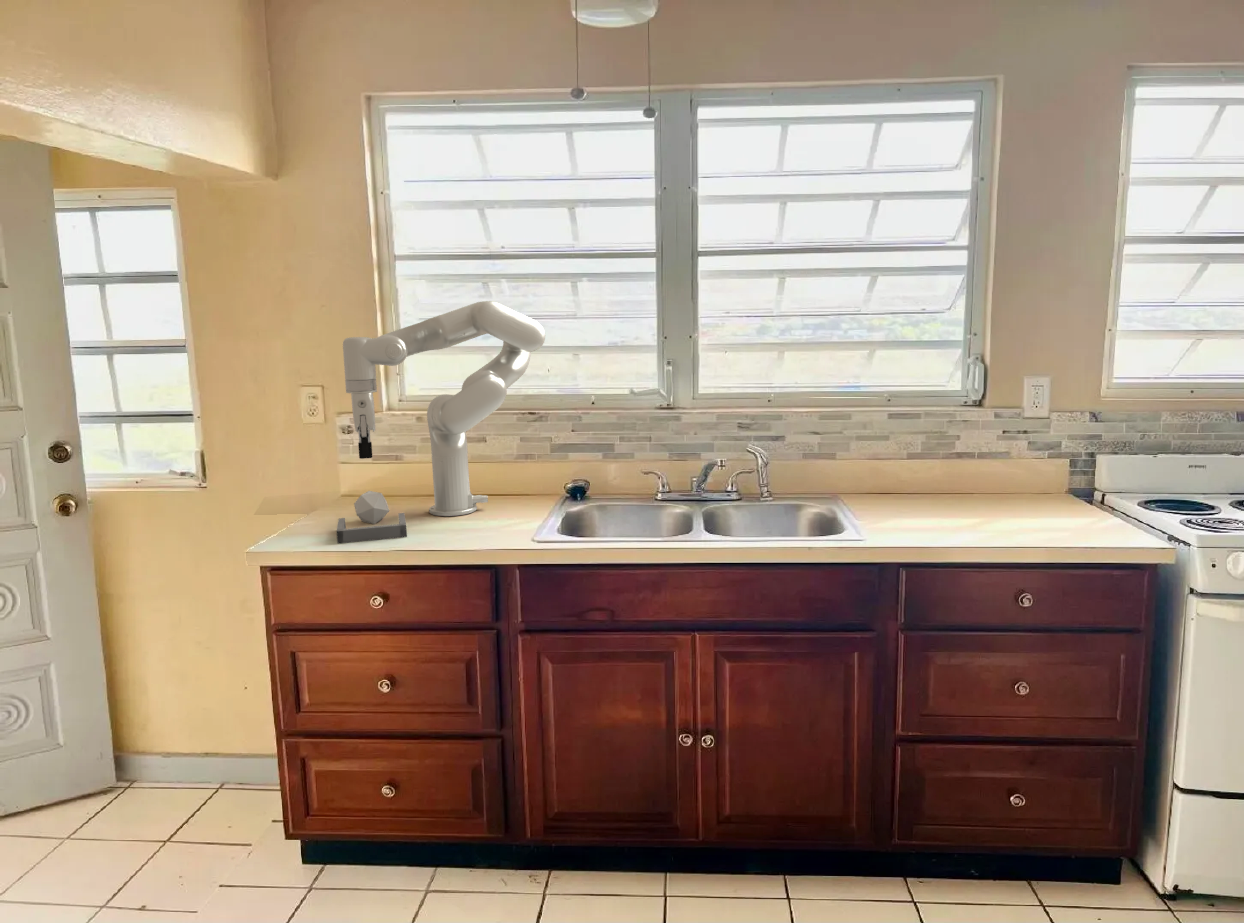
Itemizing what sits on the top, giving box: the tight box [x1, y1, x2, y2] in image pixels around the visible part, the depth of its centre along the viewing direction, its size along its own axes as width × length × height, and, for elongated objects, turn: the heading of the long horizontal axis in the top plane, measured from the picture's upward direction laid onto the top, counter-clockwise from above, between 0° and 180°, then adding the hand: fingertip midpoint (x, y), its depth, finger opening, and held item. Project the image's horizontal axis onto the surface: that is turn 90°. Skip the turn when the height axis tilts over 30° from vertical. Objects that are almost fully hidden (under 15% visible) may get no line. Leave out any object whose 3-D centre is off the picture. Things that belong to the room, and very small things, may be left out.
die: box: [353, 490, 390, 525], centre depth 218 cm, size 8×9×10 cm
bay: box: [335, 512, 408, 544], centre depth 206 cm, size 16×13×3 cm
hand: (365, 457), depth 215 cm, fingers closed
